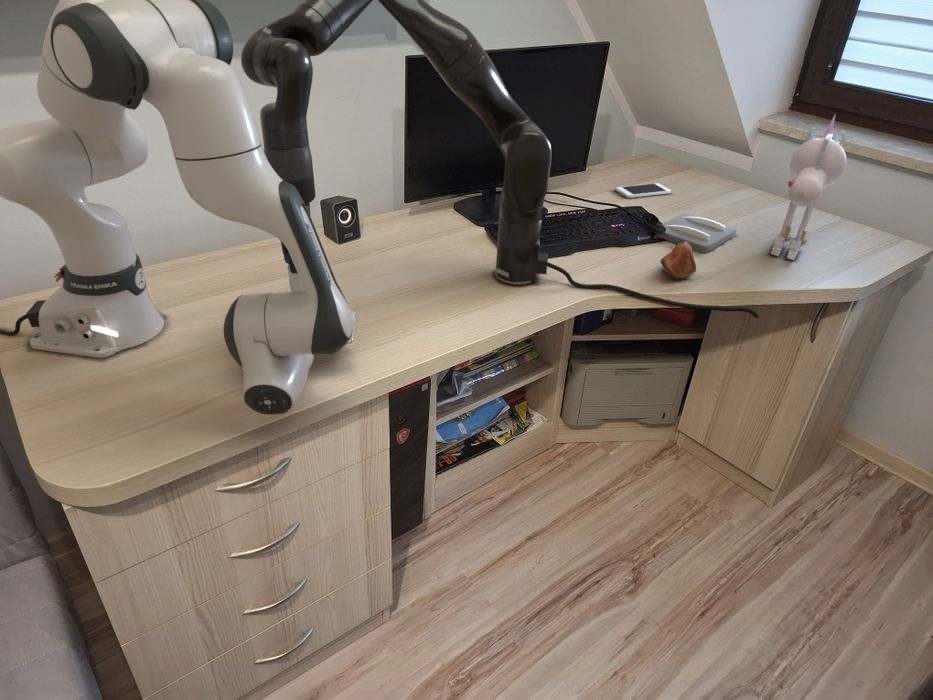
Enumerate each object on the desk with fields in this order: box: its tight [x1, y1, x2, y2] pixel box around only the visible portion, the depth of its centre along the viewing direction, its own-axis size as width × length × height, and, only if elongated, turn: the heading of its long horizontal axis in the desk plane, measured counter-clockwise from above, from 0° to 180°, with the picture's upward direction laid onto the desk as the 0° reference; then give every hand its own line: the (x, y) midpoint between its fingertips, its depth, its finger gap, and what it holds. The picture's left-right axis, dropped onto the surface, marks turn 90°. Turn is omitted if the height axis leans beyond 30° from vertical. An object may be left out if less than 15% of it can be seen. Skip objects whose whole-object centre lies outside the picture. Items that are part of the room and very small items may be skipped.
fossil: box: [660, 241, 697, 279], centre depth 147 cm, size 13×8×10 cm
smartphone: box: [615, 182, 672, 199], centre depth 194 cm, size 7×16×1 cm, turn 111°
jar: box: [287, 264, 305, 292], centre depth 117 cm, size 4×4×16 cm
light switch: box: [654, 212, 737, 253], centre depth 167 cm, size 18×3×15 cm
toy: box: [770, 112, 847, 261], centre depth 159 cm, size 12×36×30 cm, turn 148°
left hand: (306, 303), depth 119 cm, fingers closed on jar, 4 cm apart
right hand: (300, 265), depth 113 cm, fingers closed on lid, 5 cm apart
